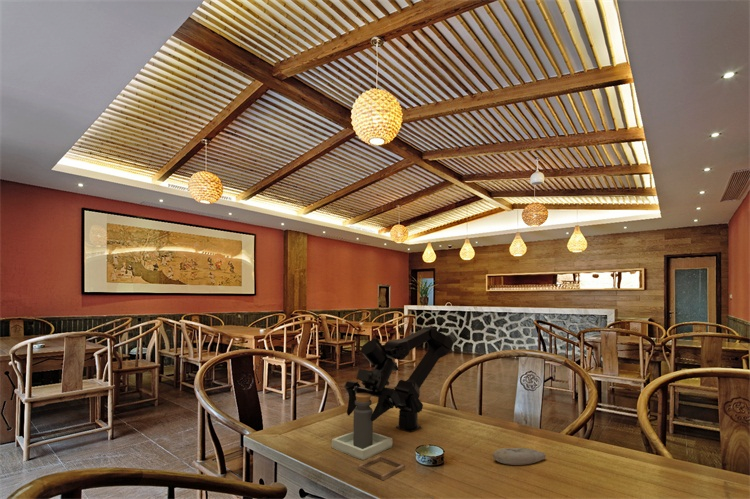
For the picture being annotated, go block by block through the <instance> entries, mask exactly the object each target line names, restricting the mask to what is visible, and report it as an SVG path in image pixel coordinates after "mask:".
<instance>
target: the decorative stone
mask: <svg viewBox="0 0 750 499" xmlns="http://www.w3.org/2000/svg"><path fill="white" fill-rule="evenodd" d="M492 458H493V459H494V460H496V461H497V462H498V463H500V464H503V465H509V466H524V465H531V464H535V463H539V462H541V461H544V460H545V459H546V454H545V453H544V452H542V451H538V450H536V449H533V448H532V449H531V448H527V447H508V448H507V447H503V448H499V449H496V450H495V451H493V453H492Z"/></svg>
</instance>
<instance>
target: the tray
mask: <svg viewBox="0 0 750 499" xmlns="http://www.w3.org/2000/svg"><path fill="white" fill-rule="evenodd" d="M391 448H393V438H392V437H389V436H386V435H384V434H380V433H377V432H375V431H374V432H373V445H371V446H369V447H367V448H364V449H361V448H358V447H356V446H354V445H353V431H351V432H348V433H345V434H343V435H340V436H337V437H334V438H332V439H331V449H334V450H336V451H338V452H340V453H343V454H346V455H349V456H350V457H353V458H356V459H358V460H361V461H364V460H367V459H370V458H372V457H373V456H375V455H377V454H380V453H383V452H385V451H387V450H389V449H391Z"/></svg>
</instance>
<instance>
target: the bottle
mask: <svg viewBox="0 0 750 499" xmlns="http://www.w3.org/2000/svg"><path fill="white" fill-rule="evenodd" d="M371 397H372V396H371V394H369V393H358V394H356V400H355V405H357V406H356V408H355V409H354V410H353V423H352V424H353V430H352V432H353V445H354V446H356V447H358V448H361V449H364V448H367V447H369V446H371V445H373V429H374V428H373V427H374V426H373V424H374V421H373V422H372V421H371V420H370V419H371V416H372V414H373V412H374V410H373V408H372V407H370V406H371V405H372V404H373V403H372V400H371Z"/></svg>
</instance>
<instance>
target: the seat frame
mask: <svg viewBox="0 0 750 499" xmlns="http://www.w3.org/2000/svg"><path fill="white" fill-rule="evenodd" d="M379 462H383V463H386V464H387V465H391V466H393V467H395V468H393V469H391V470H389V471H387V472H385V473H381V472H378V471H375V470H373V469H370V468H369V466H370V467H371V466H372V465H375V464H376V463H379ZM357 470H358V471H360V472H363V473H365V474H367V475H369V476H372V477H374V478H377V479H379V480H381V481H385V480H388V479H389V478H391V477H393V476H394V475H396V474H398V473H401V472H402V471H404V470H406V464H404V463H402V462H398V461H397V460H393V459H391V458H387V457H386V456H383V455H378V456H376V457H374V458H371V459H370V460H367V461H365V462H363V463H361V464H358V465H357Z"/></svg>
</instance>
